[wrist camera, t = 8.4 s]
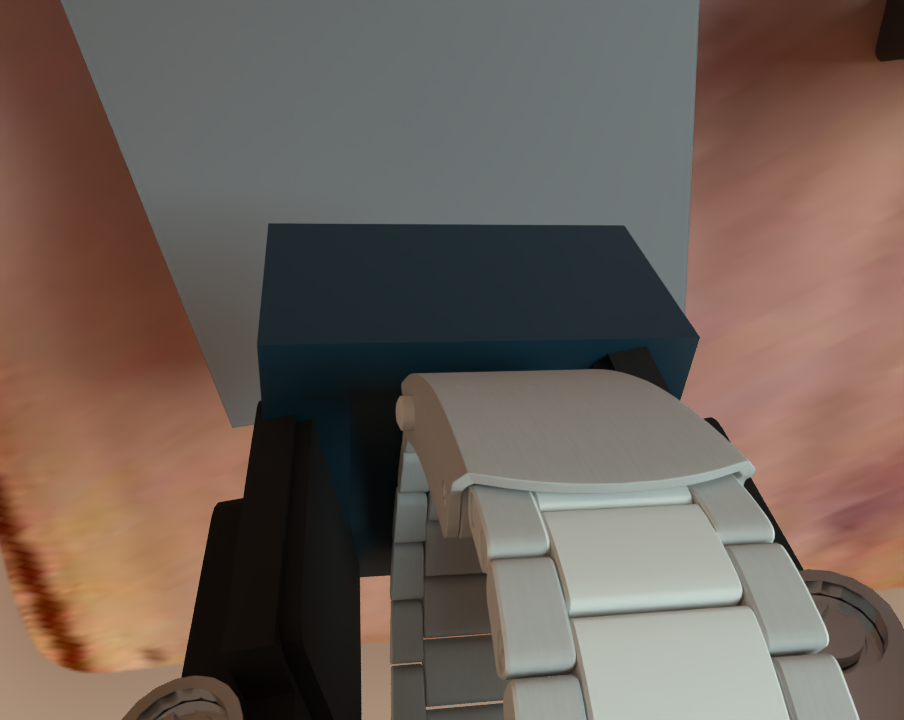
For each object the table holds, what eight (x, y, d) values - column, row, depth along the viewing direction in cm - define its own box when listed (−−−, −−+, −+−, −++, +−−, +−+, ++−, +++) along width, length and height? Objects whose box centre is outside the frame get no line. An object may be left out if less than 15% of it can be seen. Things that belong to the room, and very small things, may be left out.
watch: (286, 516, 16) (254, 1486, 7) (260, 104, 11) (43, 1544, 2) (566, 503, 16) (856, 1345, 8) (654, 116, 12) (1666, 1159, 3)
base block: (105, -120, 20) (25, -86, 15) (622, -209, 20) (708, -202, 15) (253, 313, 28) (232, 427, 23) (625, 250, 28) (683, 351, 23)
